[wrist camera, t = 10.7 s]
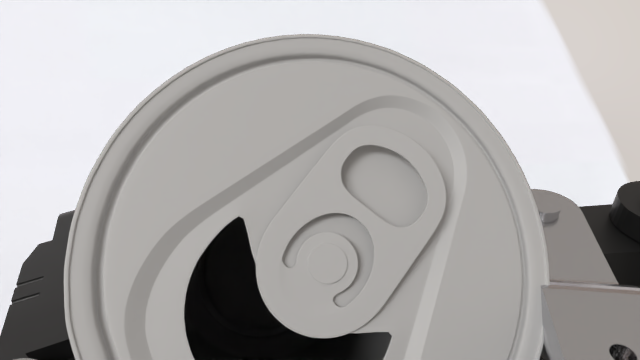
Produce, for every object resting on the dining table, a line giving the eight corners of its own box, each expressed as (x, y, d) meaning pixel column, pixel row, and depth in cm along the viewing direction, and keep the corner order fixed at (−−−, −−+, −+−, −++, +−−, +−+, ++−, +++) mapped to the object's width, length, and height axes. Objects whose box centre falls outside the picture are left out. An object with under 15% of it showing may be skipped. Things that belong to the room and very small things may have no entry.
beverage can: (140, 284, 15) (-156, 329, 4) (252, 153, 17) (284, -91, 6) (279, 391, 15) (403, 750, 4) (376, 250, 17) (658, 210, 6)
